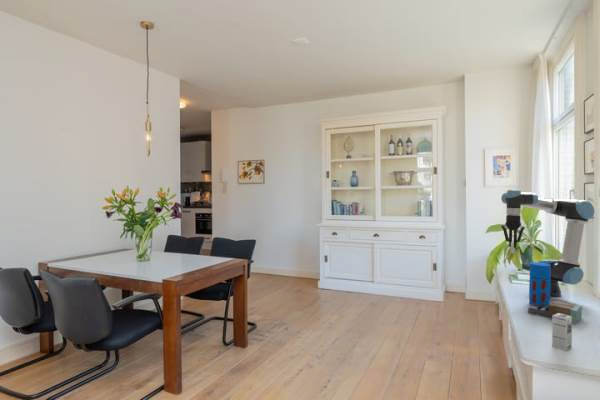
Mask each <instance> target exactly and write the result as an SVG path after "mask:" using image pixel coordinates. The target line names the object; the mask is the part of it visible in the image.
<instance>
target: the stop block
mask: <svg viewBox="0 0 600 400" xmlns="http://www.w3.org/2000/svg"><path fill="white" fill-rule="evenodd" d="M582 306H583V305H580V304H575V306H574V307H573V308H572V309H571V316H572V324H574V325H577V324H578V323H579V322H580V321H581V319H582V314H583V313H582V312H583V311H582V310H583V309H582V308H583V307H582Z"/></svg>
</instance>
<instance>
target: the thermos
mask: <svg viewBox="0 0 600 400" xmlns="http://www.w3.org/2000/svg"><path fill="white" fill-rule="evenodd" d="M529 264H530V265H529V284H528V285H529V288H528V289H529V291H528V292H529V293H528V297H529V298H528V304H529V305H532V306H533V304H539V305H544V306H549V304H550V303H551V296H550V283H551V265H550V264H546V263H538V261H537V262H530V263H529Z"/></svg>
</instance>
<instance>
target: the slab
mask: <svg viewBox="0 0 600 400" xmlns="http://www.w3.org/2000/svg"><path fill="white" fill-rule="evenodd" d="M575 305H576V304H575V303H570V302H563V301H559V300H553V301H551V302H550V304H549V308H548V312H550V313H555V314H557V313H561V314H566V315H569V316H571V309H572V308H573V307H574V306H575Z"/></svg>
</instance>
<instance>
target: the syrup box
mask: <svg viewBox="0 0 600 400" xmlns="http://www.w3.org/2000/svg"><path fill="white" fill-rule="evenodd" d="M551 319H552V323H551V324H552V326H551V327H552V328H551V329H552V332H551V333H552V334H551V335H552V336H551V337H552V339H551V342H552V343H551V346H552V347H553V348H555V349H558V350H561V351H566V352H568V351H569V350H571V349H572V343H573V342H572V338H573V337H572V335H573V333H572V330H573V329H572V326H573V325H572V324H573V323H572V316H569V315H566V314H561V313H557V314H555V315H553V316H552V318H551Z"/></svg>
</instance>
